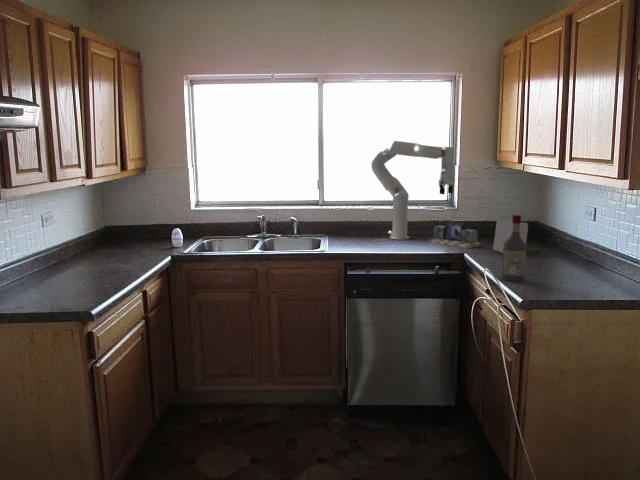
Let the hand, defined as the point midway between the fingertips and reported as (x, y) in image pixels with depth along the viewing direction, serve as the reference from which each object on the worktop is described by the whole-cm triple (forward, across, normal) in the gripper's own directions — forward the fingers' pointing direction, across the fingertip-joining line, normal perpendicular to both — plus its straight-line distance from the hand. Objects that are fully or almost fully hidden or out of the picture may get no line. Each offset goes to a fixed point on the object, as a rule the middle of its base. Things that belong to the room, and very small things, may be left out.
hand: (446, 193), depth 350 cm
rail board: (+30, -7, -12) cm, 33 cm away
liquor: (+31, -66, -79) cm, 107 cm away
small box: (+28, -7, -12) cm, 31 cm away
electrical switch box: (+31, -4, -48) cm, 57 cm away
